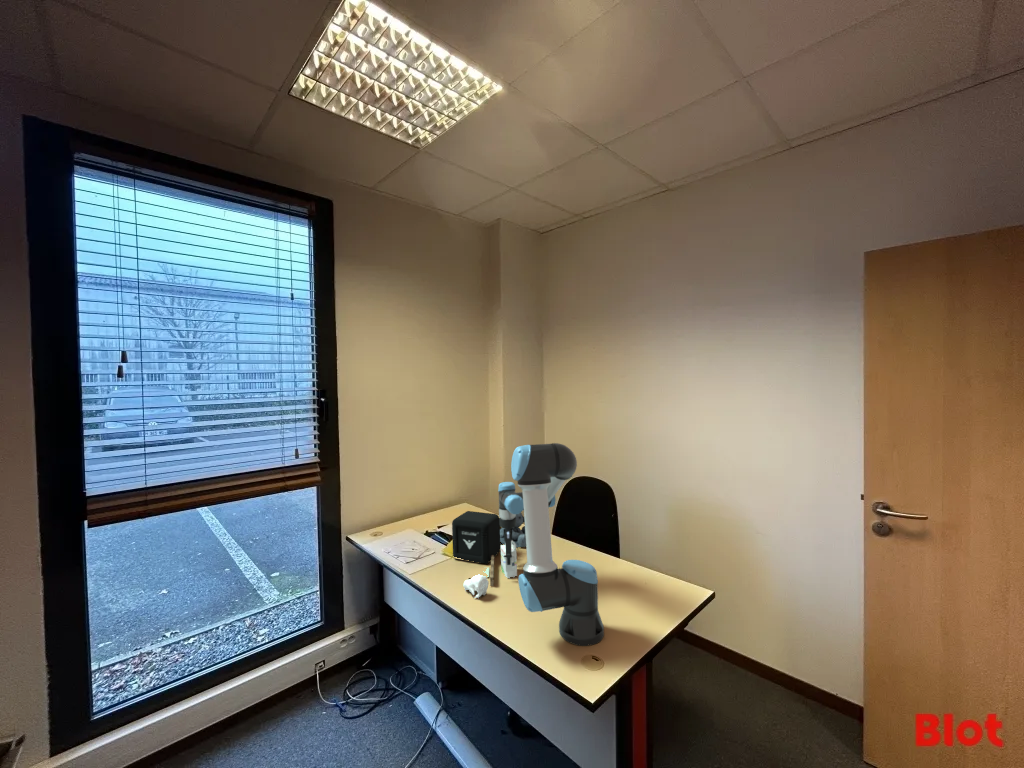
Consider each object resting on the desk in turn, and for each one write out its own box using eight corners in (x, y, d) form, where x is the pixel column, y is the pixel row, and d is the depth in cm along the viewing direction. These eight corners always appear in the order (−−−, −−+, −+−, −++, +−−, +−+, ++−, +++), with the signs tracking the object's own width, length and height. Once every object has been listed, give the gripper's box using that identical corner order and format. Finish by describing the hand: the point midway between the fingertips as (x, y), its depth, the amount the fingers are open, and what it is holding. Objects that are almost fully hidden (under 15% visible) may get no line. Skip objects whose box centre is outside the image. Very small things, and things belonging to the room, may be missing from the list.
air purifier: (450, 560, 198) (449, 519, 198) (465, 548, 211) (464, 510, 211) (487, 566, 190) (486, 524, 190) (500, 554, 204) (499, 514, 203)
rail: (493, 586, 171) (492, 577, 171) (490, 586, 171) (490, 577, 171) (494, 563, 193) (493, 555, 193) (491, 563, 193) (491, 555, 193)
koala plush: (527, 549, 208) (526, 511, 208) (493, 547, 211) (492, 510, 211) (531, 536, 225) (531, 501, 225) (500, 535, 228) (499, 500, 228)
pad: (488, 578, 178) (488, 577, 178) (468, 579, 178) (468, 577, 178) (489, 568, 187) (489, 567, 187) (469, 569, 187) (469, 568, 187)
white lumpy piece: (477, 579, 159) (458, 573, 167) (480, 602, 159) (459, 594, 167) (489, 573, 164) (469, 568, 172) (491, 595, 164) (471, 588, 172)
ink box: (500, 570, 185) (499, 538, 185) (510, 568, 187) (510, 536, 187) (507, 579, 177) (506, 545, 177) (517, 577, 179) (516, 543, 179)
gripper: (516, 527, 170) (518, 577, 170) (514, 508, 195) (516, 551, 195) (499, 527, 169) (500, 578, 170) (499, 508, 194) (500, 552, 195)
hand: (508, 564), depth 182 cm, fingers open, 13 cm apart
